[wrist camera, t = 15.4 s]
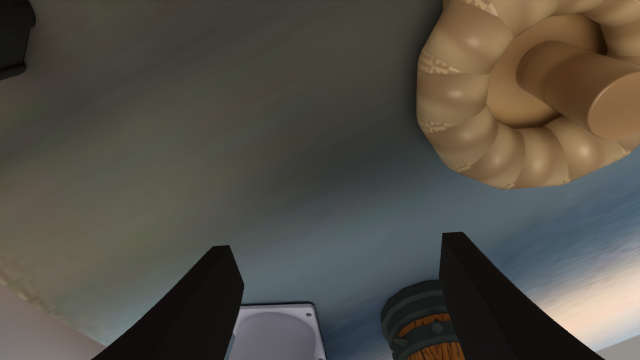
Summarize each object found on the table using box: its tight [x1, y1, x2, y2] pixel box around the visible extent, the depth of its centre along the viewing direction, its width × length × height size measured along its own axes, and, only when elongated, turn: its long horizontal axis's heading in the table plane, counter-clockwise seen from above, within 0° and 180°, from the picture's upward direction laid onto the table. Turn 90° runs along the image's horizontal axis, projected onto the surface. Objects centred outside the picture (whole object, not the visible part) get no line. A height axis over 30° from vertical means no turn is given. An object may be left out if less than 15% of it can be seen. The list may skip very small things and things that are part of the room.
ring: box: [416, 0, 640, 189], centre depth 14 cm, size 11×11×3 cm
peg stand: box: [443, 0, 640, 140], centre depth 14 cm, size 9×9×7 cm
